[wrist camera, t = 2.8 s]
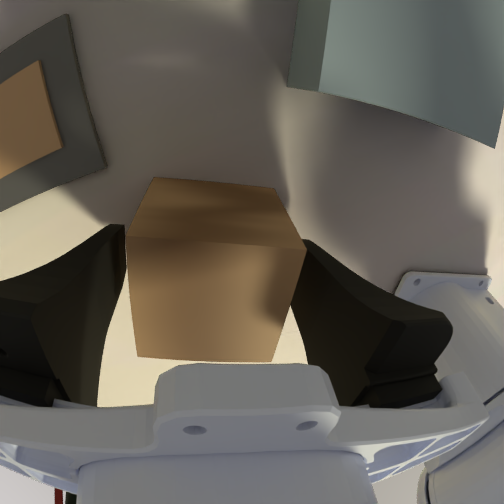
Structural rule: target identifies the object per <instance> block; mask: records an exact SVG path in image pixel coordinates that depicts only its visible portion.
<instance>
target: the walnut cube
mask: <svg viewBox="0 0 504 504" xmlns="http://www.w3.org/2000/svg"><path fill="white" fill-rule="evenodd" d="M306 251H307V249H306V247H305V245H304V243H303V241H302V239H301V237H300V236H299V234H298V232H297V230H296V228H295V226H294V224H293V222H292V221H291V219H290V217H289V215H288V213H287V211H286V209H285V208H284V206H283V204H282V202H281V200H280V198H279V197H278V195H277V193H276V191H275V189H274V188H266V187H257V186H248V185H239V184H230V183H220V182H209V181H198V180H186V179H173V178H158V177H154V178H153V180H152V182H151V184H150V186H149V188H148V190H147V192H146V194H145V196H144V198H143V200H142V202H141V204H140V206H139V208H138V210H137V212H136V214H135V216H134V219H133V221H132V223H131V225H130V227H129V229H128V232H127V234H126V253H127V269H128V281H129V293H130V303H131V312H132V320H133V328H134V336H135V343H136V350H137V356H138V357H147V358H159V359H173V360H189V361H212V362H271V361H272V359H273V356H274V353H275V350H276V347H277V344H278V341H279V338H280V335H281V332H282V329H283V326H284V323H285V319H286V316H287V313H288V310H289V307H290V304H291V301H292V297H293V294H294V291H295V288H296V285H297V281H298V278H299V275H300V271H301V268H302V265H303V261H304V258H305V255H306Z"/></svg>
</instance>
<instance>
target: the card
mask: <svg viewBox="0 0 504 504" xmlns="http://www.w3.org/2000/svg"><path fill="white" fill-rule="evenodd" d="M106 167H107V163H106V160H105V157H104V154H103V151H102V148H101V145H100V142H99V139H98V136H97V132H96V129H95V126H94V122H93V119H92V115H91V112H90V108H89V105H88V101H87V97H86V93H85V90H84V86H83V82H82V78H81V73H80V69H79V65H78V61H77V56H76V51H75V47H74V42H73V37H72V31H71V26H70V20H69V15H68V14H64V15H62V16H60V17H58V18H56V19H54V20H53V21H51V22H49V23H47V24H45V25H44V26H42V27H40V28H38V29H37V30H35V31H33V32H32V33H30V34H28V35H27V36H25V37H24V38H22V39H21V40H19V41H18V42H16V43H14V44H13V45H12V46H10V47H9V48H7V49H6V50H4V51H3V52H1V53H0V212H2V211H4V210H6V209H8V208H10V207H12V206H14V205H16V204H18V203H20V202H22V201H25V200H27V199H29V198H31V197H34V196H36V195H38V194H40V193H43V192H45V191H47V190H50V189H52V188H54V187H57V186H59V185H62V184H64V183H67V182H69V181H72V180H74V179H77V178H80V177H82V176H85V175H87V174H90V173H93V172H96V171H98V170H101V169H104V168H106Z"/></svg>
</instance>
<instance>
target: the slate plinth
mask: <svg viewBox="0 0 504 504" xmlns="http://www.w3.org/2000/svg"><path fill="white" fill-rule="evenodd" d="M287 87H291V88H297V89H303V90H309V91H314V92H319V93H324V94H329V95H334V96H339V97H343V98H347V99H352V100H356V101H360V102H364V103H368V104H372V105H375V106H379V107H383V108H386V109H389V110H393V111H396V112H399V113H403V114H406V115H409V116H412V117H415V118H418V119H421V120H424V121H427V122H430V123H432V124H435V125H438V126H441V127H443V128H446V129H449V130H451V131H454V132H456V133H459V134H461V135H464V136H466V137H469V138H471V139H474V140H476V141H478V142H480V143H483V144H485V145H487V146H489V147H492V148H494V149H495V146H496V142H497V137H498V133H499V128H500V124H501V119H502V113H503V108H504V0H299V2H298V9H297V17H296V24H295V32H294V39H293V47H292V54H291V61H290V68H289V75H288V83H287Z"/></svg>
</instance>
